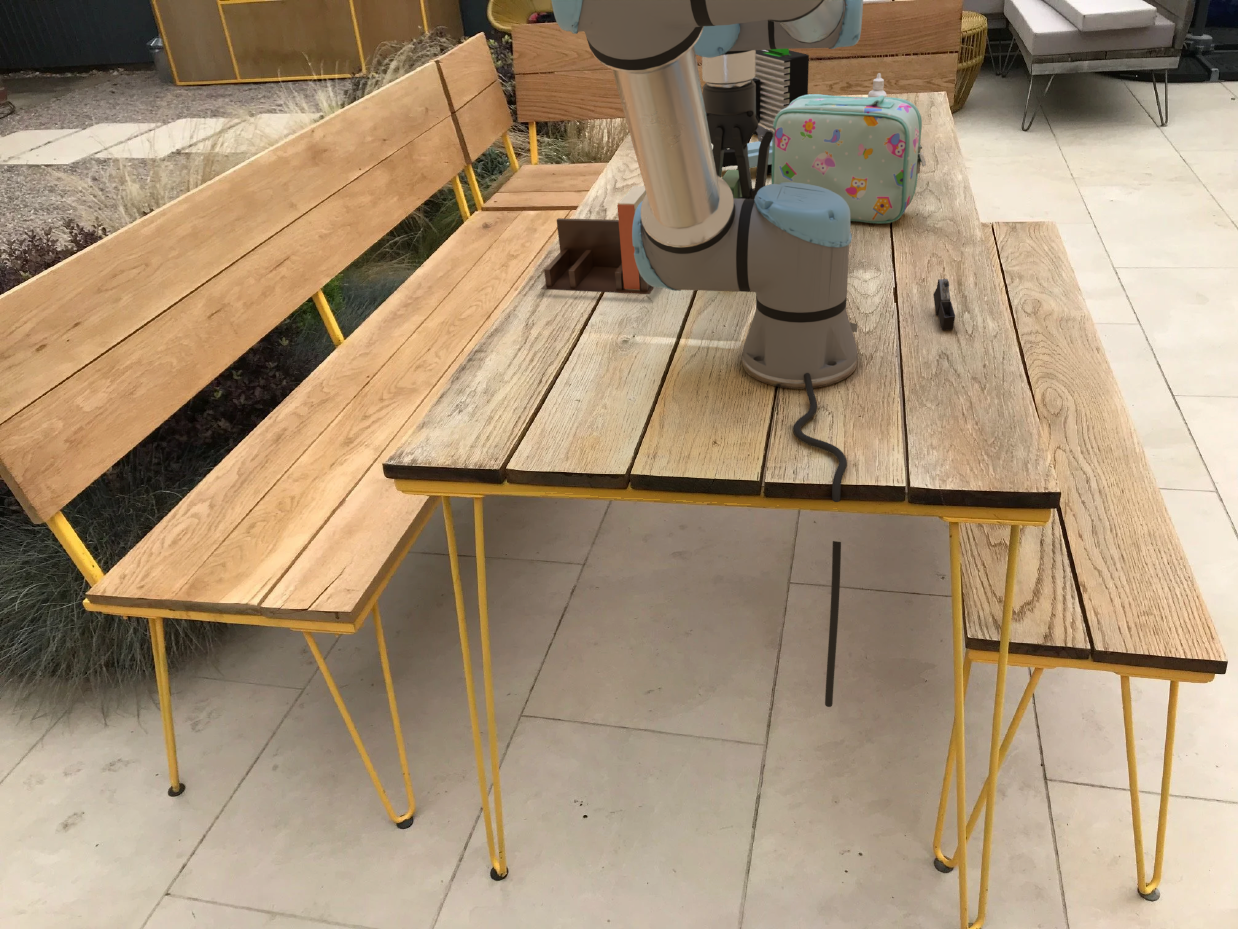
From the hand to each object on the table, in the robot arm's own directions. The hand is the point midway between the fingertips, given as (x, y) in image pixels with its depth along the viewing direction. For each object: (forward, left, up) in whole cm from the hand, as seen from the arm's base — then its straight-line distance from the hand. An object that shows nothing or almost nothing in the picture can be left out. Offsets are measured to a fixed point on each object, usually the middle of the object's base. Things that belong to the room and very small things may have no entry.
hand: (731, 240), depth 147 cm
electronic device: (+94, +12, -8) cm, 95 cm away
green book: (0, 0, -4) cm, 4 cm away
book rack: (-1, +21, -8) cm, 22 cm away
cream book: (-1, +15, -7) cm, 16 cm away
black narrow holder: (-8, -32, -8) cm, 34 cm away
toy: (+61, +8, -8) cm, 62 cm away
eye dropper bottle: (+97, -15, -8) cm, 98 cm away
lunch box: (+36, -14, -8) cm, 39 cm away
